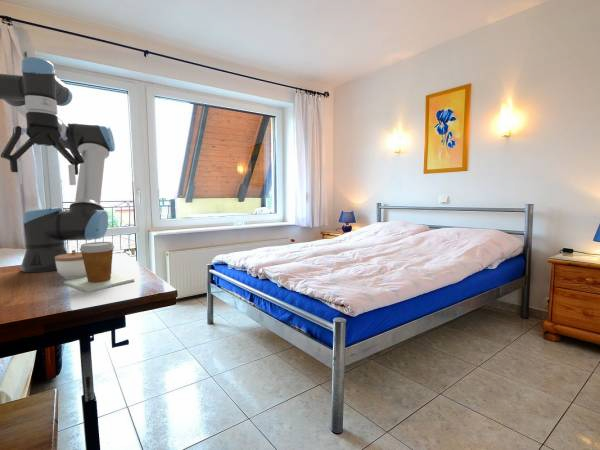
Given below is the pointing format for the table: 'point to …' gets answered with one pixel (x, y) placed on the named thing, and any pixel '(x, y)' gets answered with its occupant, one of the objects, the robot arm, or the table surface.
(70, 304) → the table surface
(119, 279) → the sage board
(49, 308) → the table surface
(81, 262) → the lidded jar
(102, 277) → the disposable coffee cup
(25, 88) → the robot arm
